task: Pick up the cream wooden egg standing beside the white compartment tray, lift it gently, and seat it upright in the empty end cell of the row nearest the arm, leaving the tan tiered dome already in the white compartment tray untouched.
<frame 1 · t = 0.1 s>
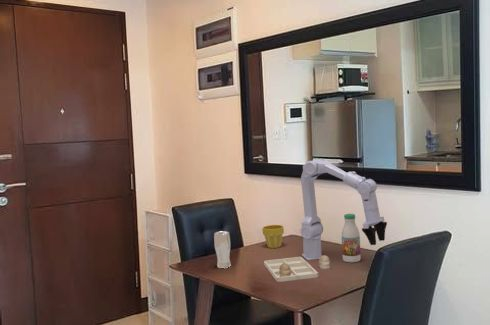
hand: (377, 242, 209), 11 cm above the table, tool pointing down, fingers open, 7 cm apart
milk bottle: (351, 260, 223), on the table
white compartment tray: (290, 271, 212), on the table
plant pot: (274, 246, 254), on the table
tan tiered dome: (285, 277, 204), point 1 cm above the table, touching white compartment tray
beer glass: (224, 266, 226), on the table
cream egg: (324, 268, 214), on the table
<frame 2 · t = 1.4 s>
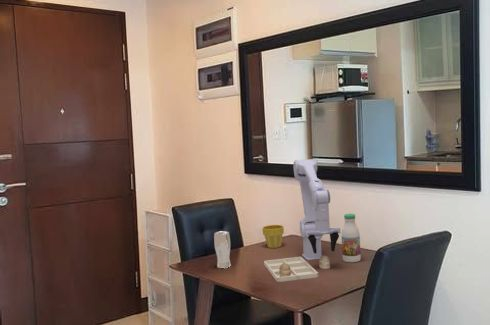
hand: (323, 251, 213), 7 cm above the table, tool pointing down, fingers open, 7 cm apart
nothing on the table moved.
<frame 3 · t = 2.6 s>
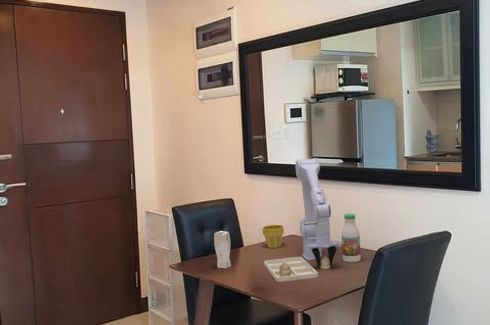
hand: (324, 265, 214), 1 cm above the table, tool pointing down, fingers closed on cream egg, 4 cm apart
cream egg: (324, 268, 214), on the table, touching gripper
everything else where it was.
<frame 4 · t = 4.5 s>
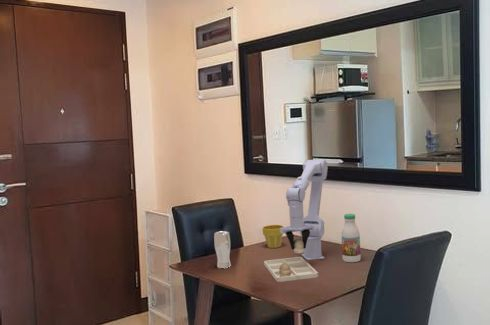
hand: (298, 248, 216), 8 cm above the table, tool pointing down, fingers closed on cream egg, 4 cm apart
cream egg: (298, 251, 216), point 7 cm above the table, touching gripper
everything else where it was.
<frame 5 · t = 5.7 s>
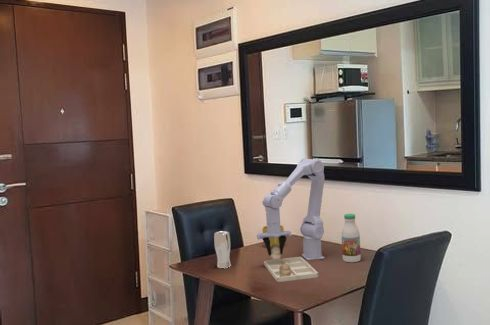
hand: (275, 254, 219), 6 cm above the table, tool pointing down, fingers closed on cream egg, 4 cm apart
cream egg: (275, 257, 219), point 4 cm above the table, touching gripper
everything else where it was.
when the fingers open (3 cm above the table, at t = 6.6 s): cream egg drops 1 cm, resting on white compartment tray.
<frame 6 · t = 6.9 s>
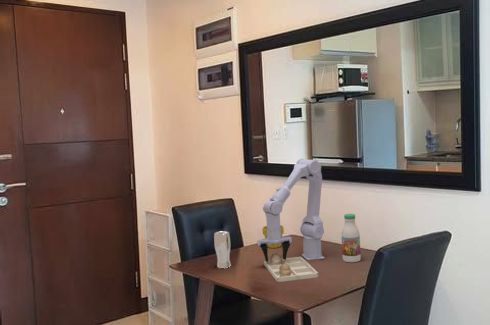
hand: (275, 260, 219), 3 cm above the table, tool pointing down, fingers open, 7 cm apart
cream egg: (276, 266, 219), point 1 cm above the table, touching white compartment tray
everything else where it was.
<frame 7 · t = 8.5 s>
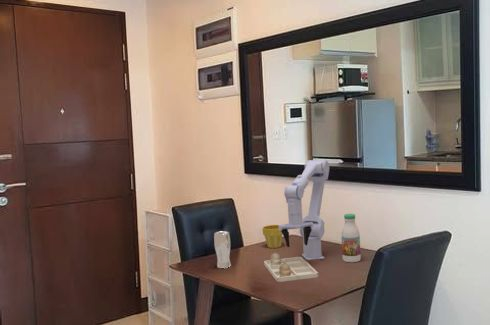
hand: (297, 245, 217), 9 cm above the table, tool pointing down, fingers open, 7 cm apart
nothing on the table moved.
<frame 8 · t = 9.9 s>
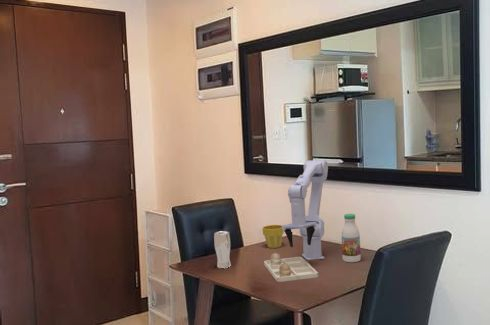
hand: (300, 245, 216), 9 cm above the table, tool pointing down, fingers open, 7 cm apart
nothing on the table moved.
at the end: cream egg 0.1 cm from the target spot on the white compartment tray, point 0.6 cm above the white compartment tray's base; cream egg tilted 0°; the gripper is holding nothing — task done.
